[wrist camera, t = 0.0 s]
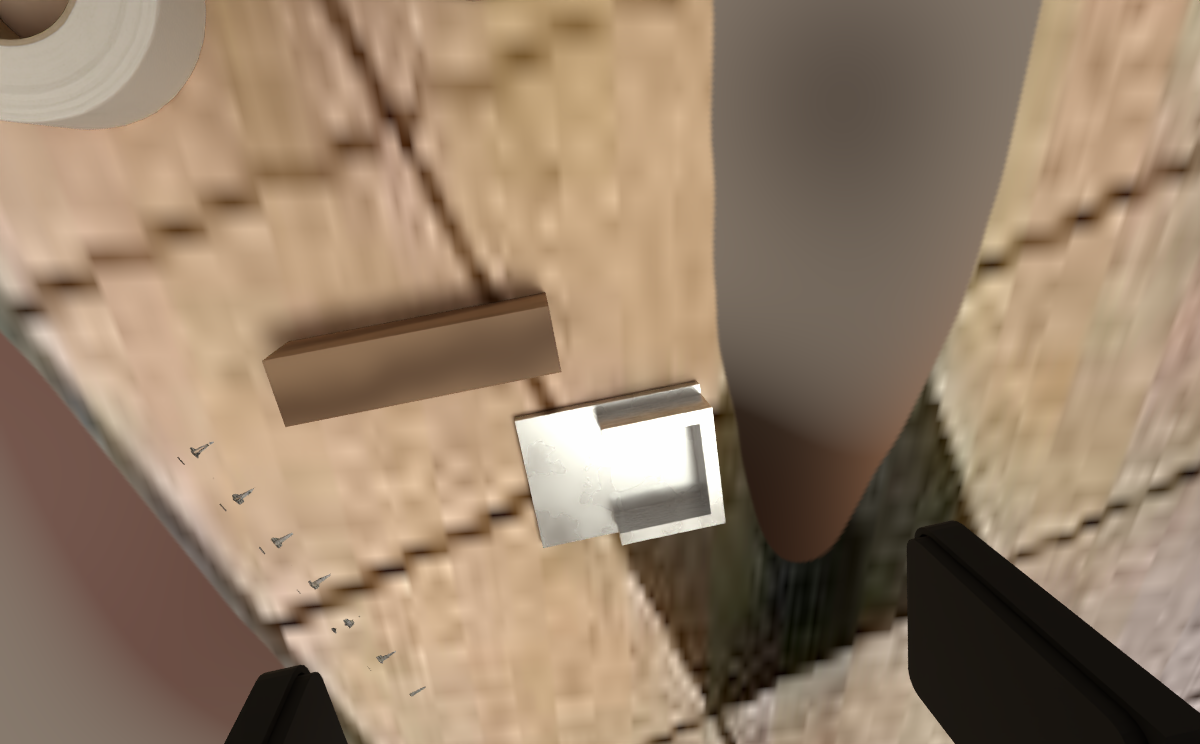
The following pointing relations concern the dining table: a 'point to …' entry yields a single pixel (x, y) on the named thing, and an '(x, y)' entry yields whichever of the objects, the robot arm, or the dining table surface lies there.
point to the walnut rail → (413, 359)
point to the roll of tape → (101, 63)
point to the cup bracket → (624, 466)
